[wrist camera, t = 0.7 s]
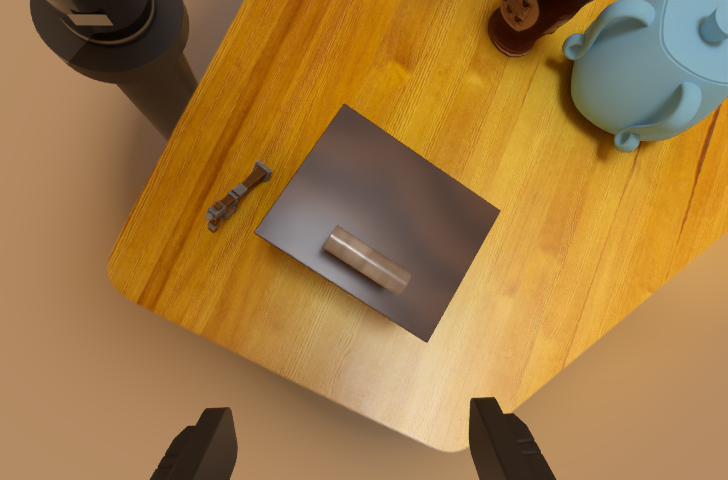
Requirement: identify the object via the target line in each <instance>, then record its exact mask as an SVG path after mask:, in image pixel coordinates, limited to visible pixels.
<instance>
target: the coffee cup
mask: <svg viewBox="0 0 728 480" xmlns="http://www.w3.org/2000/svg"><path fill="white" fill-rule="evenodd" d="M591 1H593V0H502V1H501V5H500V7H499V8H498V9H496V10H495V11H494V12H493V14H492V16H491V18H490V22H489V32H490V35H491V38H492V40H493V41H494V43H495V44H496V45H497V47H498V48H499V49H500V50H501V51H503V52H504V53H506V54H507V55H509V56H522V55H526V54H527V53H528V52H529V51H530V50H531V49H532V47H533V46H534V44H535V42H536V40H537V39H538V38H540V37H542V36H544V35H546V34H552V33H554V32H555V31H556V30H557V29H558V28H559V27H560V26H562V25H563V24H565V23H566V22H568V21H569V20H570V19H572V18H573V16H574V15H575V14H576V13H577V12H578V11H579V10H580V9H581V8H582V7H583V6H584V5H586V4H587V3H589V2H591Z"/></svg>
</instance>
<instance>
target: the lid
mask: <svg viewBox="0 0 728 480" xmlns="http://www.w3.org/2000/svg"><path fill="white" fill-rule="evenodd" d="M499 213H500V210H499V209H497V208H496V207H494V206H493V205H492V204H490V203H489V202H487V201H486V200H484V199H483V198H481V197H480V196H478V195H477V194H475V193H474V192H473V191H471V190H470V189H468V188H467V187H465V186H464V185H462V184H461V183H459V182H458V181H457V180H455V179H454V178H452V177H451V176H449V175H448V174H446V173H445V172H443V171H442V170H441V169H439V168H438V167H436V166H435V165H433V164H432V163H430V162H429V161H427V160H426V159H425V158H423V157H422V156H420V155H419V154H417V153H416V152H414V151H413V150H411V149H410V148H409V147H407V146H406V145H404V144H403V143H401V142H400V141H398V140H397V139H395V138H394V137H393V136H391V135H390V134H388V133H387V132H385V131H384V130H382V129H381V128H379V127H378V126H376V125H375V124H374V123H372V122H371V121H369V120H368V119H366V118H365V117H363V116H362V115H360V114H359V113H358V112H356V111H355V110H353V109H352V108H350V107H349V106H347V105H346V104H343V106H342V107H341V108H340V110H339V111H338V113H337V114H336V116H335V117H334V118H333V120H332V121H331V123H330V124H329V126H328V127H327V128H326V130H325V131H324V133H323V134H322V136H321V137H320V138H319V140H318V141H317V143H316V144H315V146H314V147H313V148H312V150H311V151H310V153H309V154H308V156H307V157H306V158H305V160H304V161H303V163H302V164H301V166H300V167H299V168H298V170H297V171H296V173H295V174H294V176H293V177H292V178H291V180H290V181H289V183H288V184H287V186H286V187H285V188H284V190H283V191H282V193H281V194H280V196H279V197H278V198H277V200H276V201H275V203H274V204H273V206H272V207H271V208H270V210H269V211H268V213H267V214H266V216H265V217H264V218H263V220H262V221H261V223H260V224H259V226H258V227H257V228H256V230H255V231H254V233H255V234H256V235H257V236H259V237H261V238H262V239H264V240H265V241H267V242H268V243H270V244H272V245H273V246H275V247H276V248H278V249H279V250H281V251H283V252H284V253H286V254H287V255H289V256H291V257H292V258H294V259H295V260H297V261H298V262H300V263H302V264H303V265H305V266H306V267H308V268H309V269H311V270H313V271H314V272H316V273H317V274H319V275H320V276H322V277H324V278H325V279H327V280H328V281H330V282H331V283H333V284H335V285H336V286H338V287H339V288H341V289H342V290H344V291H346V292H347V293H349V294H350V295H352V296H353V297H355V298H357V299H358V300H360V301H361V302H363V303H364V304H366V305H368V306H369V307H371V308H372V309H374V310H375V311H377V312H379V313H380V314H382V315H383V316H385V317H386V318H388V319H390V320H391V321H393V322H394V323H396V324H397V325H399V326H401V327H402V328H404V329H405V330H407V331H408V332H410V333H412V334H413V335H415V336H416V337H418V338H419V339H421V340H423V341H424V342H428V341H429V339H430V337H431V335H432V334H433V332H434V330H435V328H436V326H437V325H438V323H439V321H440V319H441V317H442V316H443V314H444V312H445V310H446V308H447V307H448V305H449V303H450V301H451V299H452V298H453V296H454V294H455V292H456V290H457V289H458V287H459V285H460V283H461V281H462V280H463V278H464V276H465V274H466V272H467V271H468V269H469V267H470V265H471V263H472V262H473V260H474V258H475V256H476V254H477V253H478V251H479V249H480V247H481V245H482V244H483V242H484V240H485V238H486V236H487V235H488V233H489V231H490V229H491V227H492V226H493V224H494V222H495V220H496V218H497V217H498V215H499Z"/></svg>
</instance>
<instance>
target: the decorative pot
mask: <svg viewBox="0 0 728 480" xmlns="http://www.w3.org/2000/svg"><path fill="white" fill-rule="evenodd" d="M575 44H579V45H575ZM562 51H563V53H564V55H565V56H566V57H567V58H568V59H570V60H575V61H574V66H573V72H572V80H571V95H572V99H573V102H574V104H575V106H576V108H577V109H578V110H579V112H580V113H581V114H582V115H583V116H584V117H585V118H586V119H588V120H589V121H590V122H592V123H593V124H594V125H596V126H597V127H599V128H601V129H602V130H604V131H606V132H608V133H611V134H614V135H616V136H615V138H614V144H615V147H616V148H617V149H618V150H619V151H621V152H631V151H633V150H635V149H636V148H637V146H638V145H639V143H640V141H661V140H666V139H669V138H672V137H674V136H676V135H678V134H680V133H682V132H684V131H686V130H687V129H689V128H691V127H692V126H694V125H696V124H697V123H699V122H700V121H701V120H703V119H704V118H705V117H707V116H708V115H709V114H710V113H711V112H712V111H714V110H715V109H716V108H717V107H718V106H719V105H720V104H721V103H722V102H723V101H724V100H725V99H726V98H727V97H728V0H618V1H616V2H614V3H612V4H610V5H609V6H607V7H606V8H605V9H604V10H603V11H602V12H601V13H600V14H599V16H598V17H597V19H596V20H595V21H593V22H592V23H591V25H590V26H589V27H588V28H587V30H586V31H585V33H584V35H582V34H573V35H571V36H569V37H568V38H567V39H566V40H565V42H564V44H563V46H562Z"/></svg>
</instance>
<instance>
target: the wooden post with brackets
mask: <svg viewBox="0 0 728 480" xmlns="http://www.w3.org/2000/svg"><path fill="white" fill-rule="evenodd" d="M271 173H272V170H271V169H269V168H268V167H267V166H266V165H264V164H263V163H262V162H261V161H259V160H257V162H255V166H254V169H253V172H252V173H251V174H250V175H249V176H248V178H247V179H246V180H245V181H244V182H243V183H242V184H241V183H239V184H238V185H237V186H236V187H235V188H233V189H232V190H231V191H229V192H228V194H227V196H226V197H225V198H223V199H222V200H221V201H217V202H216V203H215V204H214V205H212V206H211V207H210V208H208V210H207V214H206V215H205V217H206V219H207V220H210V221H209V223H208V226H209V228H208V229H209V230H211V231H212V232H213V233H214V232H215V231H216V230H217V228H218V226H219V223H220V220H222V221H223V219H224V218H226V219H227V220H229V216H230V215H231V214H233V213H235V211H236V208H237V204H236V203H237V200H238V201H239V200H240V199H241V198H242V197H243V196H244V195H246V194H247V191H248V190H249V189H250V188H252V187H253V186H255V185H256V184H257V183H259V182H260V181H262V180H264V181H265V182H267V181H269V178H270V176H271Z"/></svg>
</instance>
